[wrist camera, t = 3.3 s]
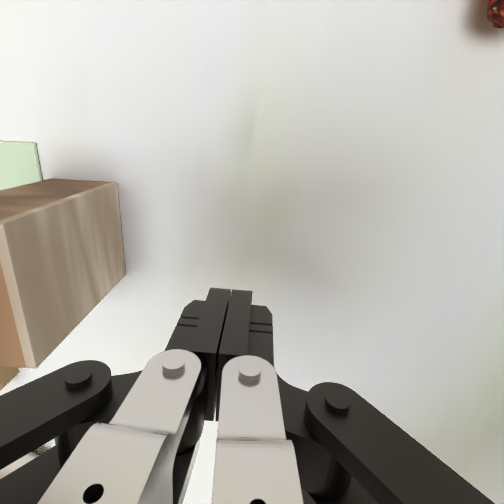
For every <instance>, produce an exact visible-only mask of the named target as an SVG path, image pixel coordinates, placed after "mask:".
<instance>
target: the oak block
mask: <svg viewBox="0 0 504 504" xmlns="http://www.w3.org/2000/svg"><path fill="white" fill-rule="evenodd" d="M18 373H19V370H18V368H17V367H7V366H0V390H1V389H2V388H3V387H4V386H5V385H6V384H7V383H8V382H10V381H11V380H12V379H13V378H14V377H15V376H16V375H17V374H18Z"/></svg>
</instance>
